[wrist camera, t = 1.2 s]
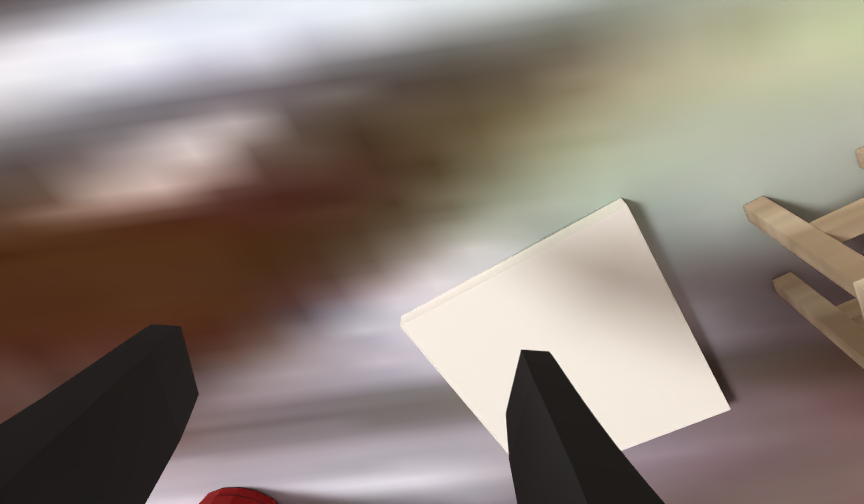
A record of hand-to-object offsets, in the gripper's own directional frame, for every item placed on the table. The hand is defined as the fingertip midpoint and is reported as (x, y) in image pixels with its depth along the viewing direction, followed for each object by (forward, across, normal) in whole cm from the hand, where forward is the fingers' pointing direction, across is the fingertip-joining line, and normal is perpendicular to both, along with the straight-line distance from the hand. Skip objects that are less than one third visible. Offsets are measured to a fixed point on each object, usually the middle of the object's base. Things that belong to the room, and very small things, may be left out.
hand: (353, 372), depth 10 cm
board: (+10, -9, +8) cm, 16 cm away
